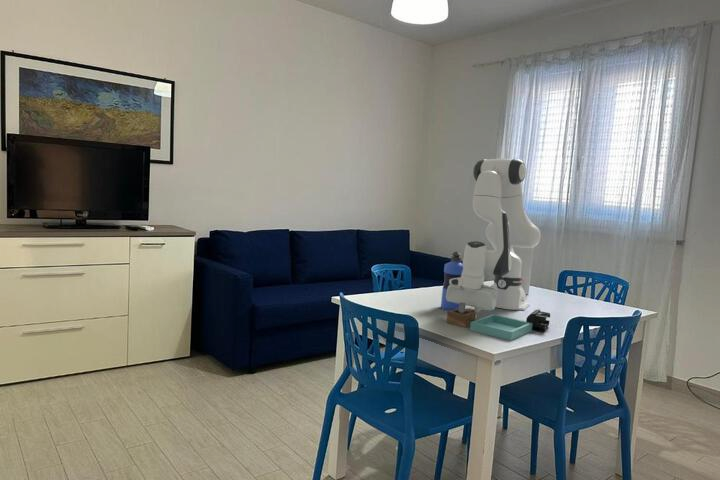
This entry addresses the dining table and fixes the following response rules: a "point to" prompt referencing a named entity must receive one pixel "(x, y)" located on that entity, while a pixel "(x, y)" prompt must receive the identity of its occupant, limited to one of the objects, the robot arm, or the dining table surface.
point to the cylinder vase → (525, 265)
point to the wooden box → (461, 317)
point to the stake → (462, 308)
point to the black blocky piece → (539, 320)
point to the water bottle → (450, 272)
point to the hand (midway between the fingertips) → (468, 316)
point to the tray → (501, 327)
